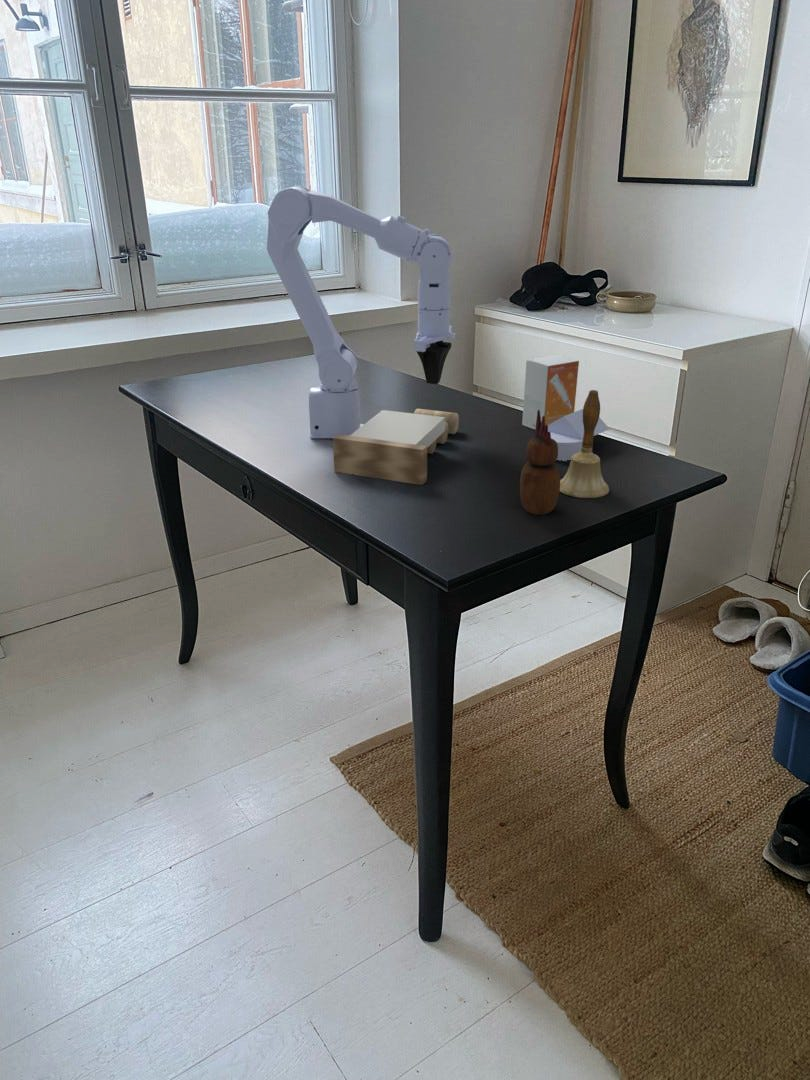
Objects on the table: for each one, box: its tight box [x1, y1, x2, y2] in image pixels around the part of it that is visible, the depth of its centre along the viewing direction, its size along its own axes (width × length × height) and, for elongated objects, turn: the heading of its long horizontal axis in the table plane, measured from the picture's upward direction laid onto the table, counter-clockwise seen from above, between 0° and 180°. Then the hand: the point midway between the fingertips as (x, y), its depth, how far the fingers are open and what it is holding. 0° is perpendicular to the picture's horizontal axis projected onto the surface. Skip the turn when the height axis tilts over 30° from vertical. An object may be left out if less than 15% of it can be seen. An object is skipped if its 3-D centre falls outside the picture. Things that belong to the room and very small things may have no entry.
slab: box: [350, 409, 445, 448], centre depth 141 cm, size 12×14×2 cm
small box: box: [521, 354, 580, 430], centre depth 158 cm, size 8×6×13 cm
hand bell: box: [559, 389, 610, 499], centre depth 127 cm, size 8×8×16 cm
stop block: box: [332, 434, 428, 486], centre depth 135 cm, size 16×2×6 cm, turn 67°
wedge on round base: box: [548, 408, 610, 462], centre depth 146 cm, size 9×7×13 cm
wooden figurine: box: [519, 410, 561, 516], centre depth 120 cm, size 7×6×15 cm
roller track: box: [413, 408, 460, 454], centre depth 148 cm, size 8×25×4 cm, turn 157°
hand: (433, 382), depth 152 cm, fingers closed
